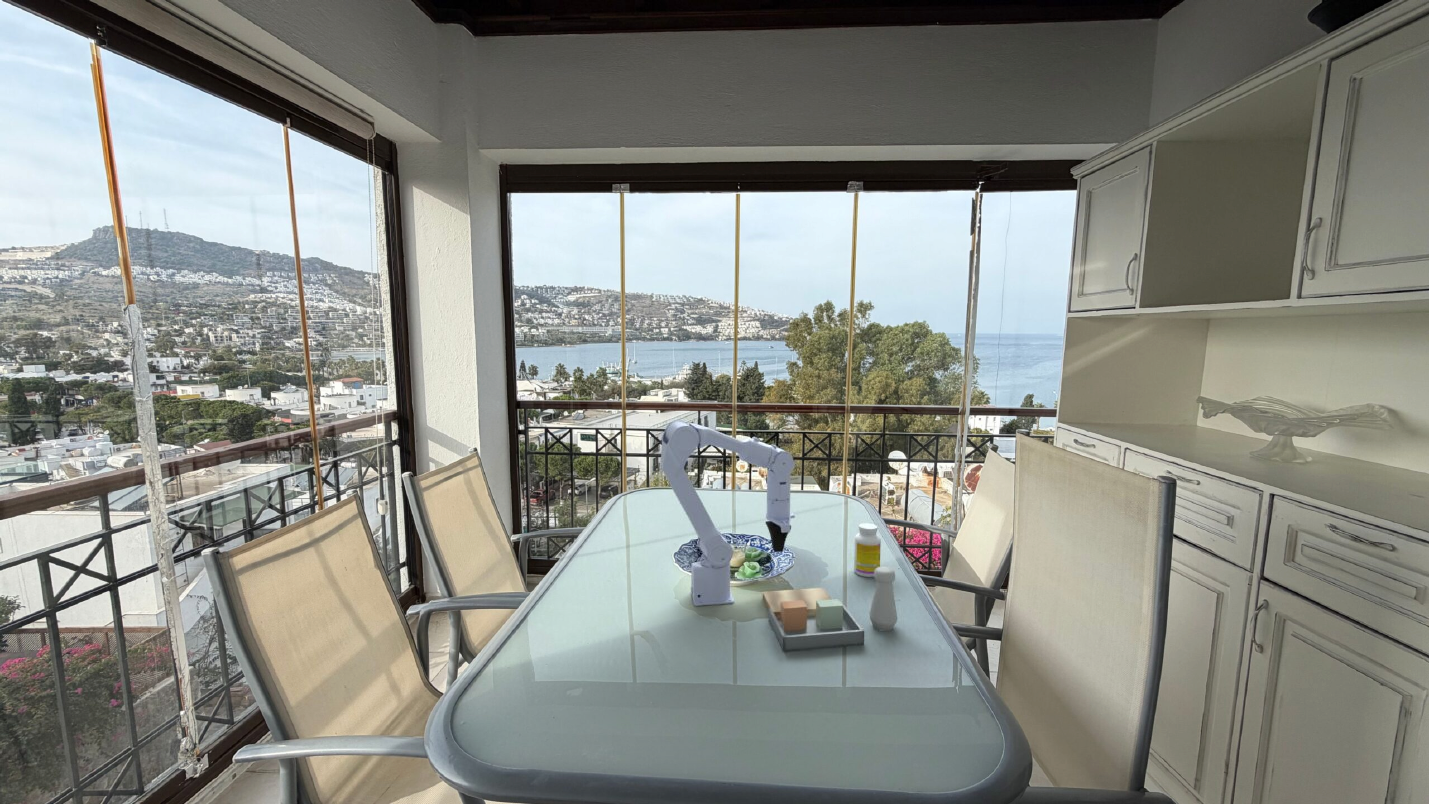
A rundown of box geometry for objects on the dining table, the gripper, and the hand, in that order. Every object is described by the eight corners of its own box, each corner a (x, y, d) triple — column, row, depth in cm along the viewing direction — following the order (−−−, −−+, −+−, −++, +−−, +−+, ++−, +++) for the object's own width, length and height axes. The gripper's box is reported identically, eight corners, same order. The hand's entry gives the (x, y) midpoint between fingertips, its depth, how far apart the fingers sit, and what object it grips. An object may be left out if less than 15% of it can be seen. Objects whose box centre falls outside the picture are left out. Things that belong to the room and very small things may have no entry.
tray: (783, 651, 111) (783, 637, 111) (768, 621, 123) (768, 608, 122) (864, 644, 113) (864, 630, 113) (842, 616, 125) (842, 603, 125)
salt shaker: (898, 634, 117) (900, 575, 116) (870, 632, 118) (872, 573, 117) (895, 621, 123) (897, 564, 121) (868, 618, 124) (869, 562, 122)
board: (772, 620, 123) (772, 612, 123) (762, 599, 133) (762, 591, 133) (837, 615, 125) (837, 607, 125) (822, 595, 135) (822, 587, 135)
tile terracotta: (780, 623, 121) (784, 630, 118) (780, 601, 120) (784, 608, 117) (802, 621, 122) (806, 629, 119) (802, 600, 121) (807, 606, 118)
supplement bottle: (882, 578, 145) (884, 530, 143) (857, 578, 145) (858, 530, 143) (875, 567, 151) (877, 522, 150) (851, 567, 152) (852, 521, 150)
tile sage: (815, 622, 121) (820, 629, 118) (816, 600, 121) (820, 607, 118) (837, 620, 122) (842, 627, 119) (838, 599, 121) (843, 605, 119)
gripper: (803, 505, 129) (802, 561, 131) (786, 488, 144) (785, 539, 145) (773, 506, 128) (773, 563, 130) (759, 490, 143) (759, 541, 144)
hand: (777, 550), depth 138 cm, fingers closed
